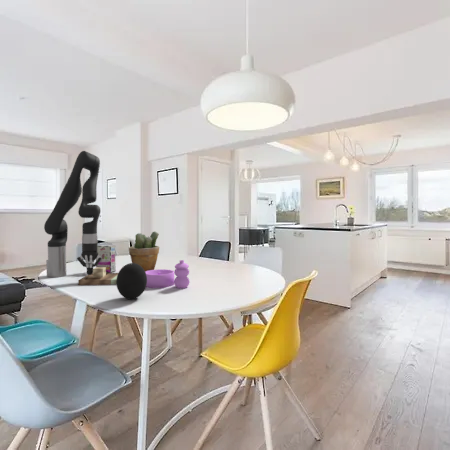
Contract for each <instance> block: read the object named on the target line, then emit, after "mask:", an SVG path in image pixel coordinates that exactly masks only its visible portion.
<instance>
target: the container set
mask: <svg viewBox="0 0 450 450" xmlns="http://www.w3.org/2000/svg"><path fill="white" fill-rule="evenodd" d="M174 268H175V269H174V270H172V269H154V270H149V271H145V272H146V276H147V285H146V288H149V289H162V288H168V287H172V286H174V285H175V287H176V288H177V289H186V288H188V286H189V285H190V283H191V282H190V279H189V276H188V275H190V270H189V264H188V263H186V262H185V260H184V259H182V260H181V259H180V260H179V262H178V263H176V264H175V265H174Z"/></svg>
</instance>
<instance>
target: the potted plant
mask: <svg viewBox="0 0 450 450" xmlns="http://www.w3.org/2000/svg"><path fill="white" fill-rule="evenodd" d="M158 237H159V232H157V231H152V232H151V235H150V236H146V234H142V233H140V232H138V233H137V234H135V240H134V244H133V246H129V247H128V254H129V255H130V261H131V263H136V264H138V265H140V266H141V267H142V268H143V269H144V270H145V271H149V270H155V268H156V265H157V261H158V256H159V253H160V246H159V245H156V243H157V239H158Z"/></svg>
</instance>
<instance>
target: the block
mask: <svg viewBox="0 0 450 450" xmlns="http://www.w3.org/2000/svg"><path fill="white" fill-rule="evenodd" d="M106 273H107V272H106V267H96V266H95V267H93V277H104V276H106Z"/></svg>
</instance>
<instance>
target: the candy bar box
mask: <svg viewBox="0 0 450 450" xmlns="http://www.w3.org/2000/svg"><path fill="white" fill-rule="evenodd" d="M97 252H98V255H99V256H100V257H102V260H101V261H100V262H99V263H98V265H97V266H95V268H96V267H106V273H116V245H110V244H109V245H107V244H106V245H105V244H104V245H103V244H100V245H98V251H97ZM96 261H97V258H96V259H95V262H96Z"/></svg>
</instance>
